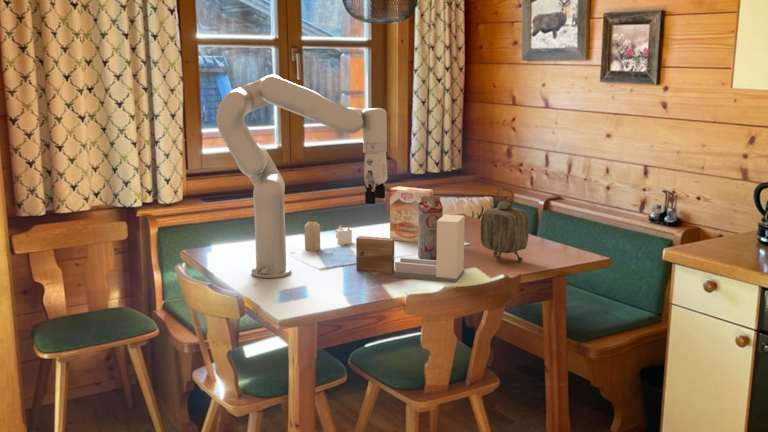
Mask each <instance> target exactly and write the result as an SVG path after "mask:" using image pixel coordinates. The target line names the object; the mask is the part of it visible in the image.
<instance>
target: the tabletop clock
mask: <svg viewBox="0 0 768 432" xmlns="http://www.w3.org/2000/svg"><path fill="white" fill-rule="evenodd" d="M501 191H507V192H509V193H510V194H511V198H507V196H505V195H504V196H503V197H501V196H500V195H499V192H501ZM496 196H497V198H498V199H500V200H501V201H500V202H499V203H498V204H497V207H494V208H489V209H485V210H484V211H483V213H482V216H481V220H480V243H481V245H482V246H483V247H484V248H486V249H488V250H490V251H493V252H492V254H493V256H495V257H496V256H498V257H496V261H497V262H501V261H502V257H501V255H502V253H503V254H511V253H514V254H515V256H516V257H517V261H518V262H522V261H523V257H522V256H520V255H519V254H518V251H521V250H526V248H527V246H528V242H529V241H528V240H529V234H530V233H529V232H530V231H529V230H530V229H529V228H530V227H529V216H528V213H527V212H526V211H524V210H523V209H521V208H517V207H513V206H512V203H511V202H510V201H512V200H513V199H514V192H513V191H512V190H511V189H510V188H506V187H501V188H499V189H497V191H496Z"/></svg>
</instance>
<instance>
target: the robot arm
mask: <svg viewBox="0 0 768 432" xmlns="http://www.w3.org/2000/svg"><path fill="white" fill-rule="evenodd" d="M268 105H273V106H275V107H278V108H280V109H284V110H286V111H287V112H291V113H294V114H296V115H298V116H301V117H304V118H306V119H308V120H311V121H315V122H317V123H319V124H321V125H324V126H325V127H326V126H327V127H329V128H332V129H334V130H336V131H338V132H342V133H344V134H347V135H354V134H356V133H357V134H358V132H360V131H362V152H363V154H364V165H363V168H364V171H363V175H364V176H363V178H364V199H365V201H364V202H365V204H366V205H367V204H368V205H375V204H376V199H385V198H386V182H387V181H388V162H387V152H388V145H387V144H388V139H387V138H388V133H387V131H388V127H387V125H388V123H387V121H388V119H387V115H388V114H387V110H386V109H385V108H380V107H371V108H370V107H369V108H359V107H347V106H345V105H342V104H339V103H336V102H334V101H332V100H329V99H328V98H326V97H324V96H322V95H321V94H319V93H318V92H316V91H314V90H312V89H309V88H308V87H305V86H302V85H298V84H297V83H294V82H292V81H289V80H287V79H283V78H282V77H281V76H280V75H277V74H269V75H266V76H264V77H262V78H259V79H258V80H255V81H253V82H251V83H247V84H245V85H243V86H240V87H237V88H235V89H232V90H231V91H229V92H227V94H226V95H224V97H223V98H222V100H221V101H220V103H219V105H218V107H217V110H216V116H215V117H216V118H215V119H216V122H215V123H216V127H217V129H218V132H219V134H220V136H221V137H222V139H223V141H224V143H225V145H226V147H227V149H228V150H229V152H230V154H231V156H232V157H233V159H234V161H235V163H236V165H237V167H238V169H239V171H240V172H241V173H243V174H244V175H245V176H247V177H248V179H249V180H250V181H251V184H252V185H253V192H252V198H253V199H252V200H253V211H254V212H253V213H254V235H255V236H254V237H255V262H256V263H255V265H256V266H255V267H254V268H252V269H251V275H253V276H254V277H257V278H263V279H277V278H283V277H286V276H289V275H290V274H291V273H292V269H291V267H289V266H288V265H287V253H286V247H287V244H286V220H285V219H286V218H285V217H286V216H285V193H286V192H285V191H286V190H285V189H286V185H285V181H284V179H283V176H282V175H281V173H280V171H279V170H278V168H277V166H276V164H275V163H274V161H273V159H272V157H271V156H270V154H269V152H268V150H267V149H266V148H265V147H264V146H262V145H261V144H259V143H257V141H256V140H255V138H254V136H253V134H252V132H251V130H250V129H249V127H248V126H247V124H246V122H245V121H246V120H245V117H246V115H248V114H249V113H251V112H253V111H256V110H259V109H261V108H264V107H266V106H268Z"/></svg>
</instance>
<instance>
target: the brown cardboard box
mask: <svg viewBox="0 0 768 432" xmlns="http://www.w3.org/2000/svg"><path fill="white" fill-rule="evenodd" d="M355 241H356V243H355V244H356V245H355V246H356V248H355V250H356V254H355V255H356V259H355V260H356V263H355V264H356V272H368V273H379V274H387V275H388V274H389V275H393V273H394V272H395V240H394V239H392V238H390V237H377V236H376V237H375V236H366V235H359V236H357V237H356V239H355Z"/></svg>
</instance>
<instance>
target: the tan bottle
mask: <svg viewBox="0 0 768 432" xmlns="http://www.w3.org/2000/svg"><path fill="white" fill-rule="evenodd" d="M304 248H305V250H307V251H317V250H318V251H319V250H320V249H321V224H319V223H318V222H317V221H309V220H308V221H307V222H306V224H304Z"/></svg>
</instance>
